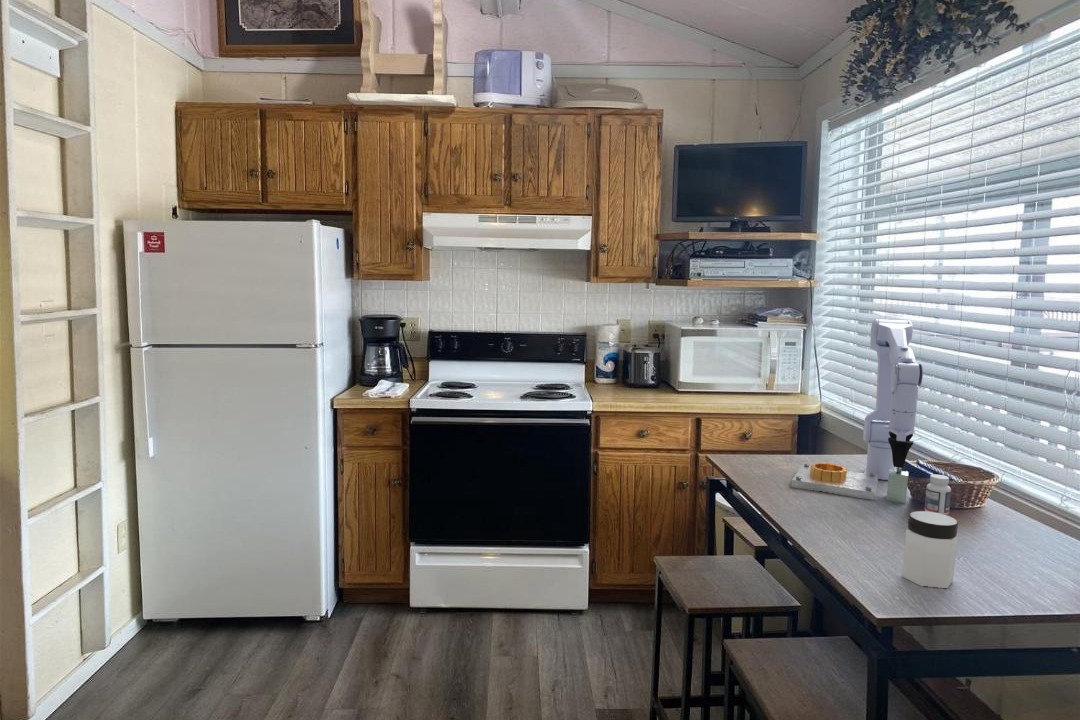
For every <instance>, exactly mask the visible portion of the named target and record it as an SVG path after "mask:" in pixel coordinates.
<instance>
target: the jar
mask: <svg viewBox="0 0 1080 720" xmlns="http://www.w3.org/2000/svg"><path fill="white" fill-rule="evenodd" d="M958 526H959V522H958V520H957V519H956V518H954V517H952V516H950V515H944V514H940V513H935V512H928V511H925V510H918V511H912V512H910V513H909V515H908V518H907V529H906V530H905V539H904V549H903V550H904V551H903V560H902V571H901V577H902V578H904V579H906V580H908V581H910V582H912V583H914V584H916V585H918V586H919V587H923V586H928V587H927V588H933V587H938V588H937V589H943V588H947V589H948V588H949V587H950V586H951V584H952V583H953V581H954V575H955V566H956V564H955V563H956V555H957V547H958V538H959V537H958V536H959V534H958ZM949 585H950V586H949Z"/></svg>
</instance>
